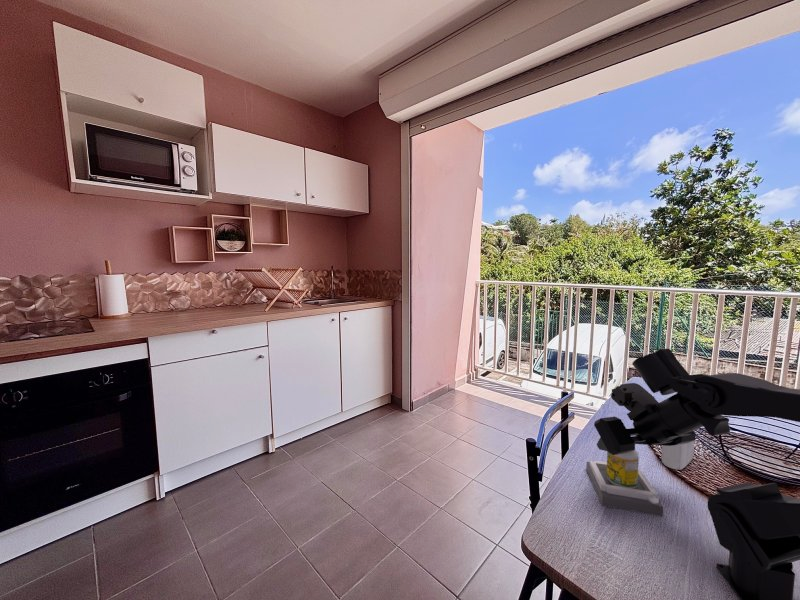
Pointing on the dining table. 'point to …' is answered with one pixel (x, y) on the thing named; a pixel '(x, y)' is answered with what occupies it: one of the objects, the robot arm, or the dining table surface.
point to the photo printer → (678, 455)
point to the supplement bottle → (623, 469)
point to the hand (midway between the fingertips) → (616, 444)
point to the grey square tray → (624, 491)
